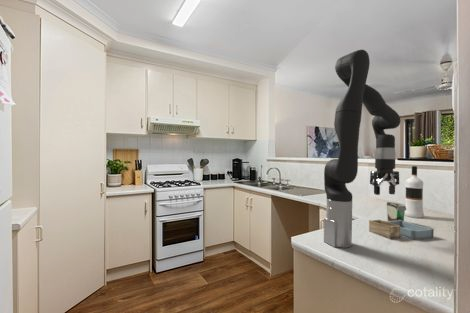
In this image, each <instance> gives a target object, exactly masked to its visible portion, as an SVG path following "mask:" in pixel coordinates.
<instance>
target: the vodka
mask: <svg viewBox="0 0 470 313" xmlns="http://www.w3.org/2000/svg"><path fill="white" fill-rule="evenodd" d="M423 190H424V181H423V180H422V179H420V178H419V177H418V166H416V165H413V166H411V176H410V177H408V178H407V179H406V180H405V198H404V199H405V204H404V205H405V207H406V210H405V214H404V216H406V217H409V218H414V219H423V218H424V216H425V213H424V205H423V204H424V200H423V199H424V198H423V197H424V195H423V194H424V191H423Z"/></svg>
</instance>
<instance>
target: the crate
mask: <svg viewBox="0 0 470 313" xmlns="http://www.w3.org/2000/svg"><path fill="white" fill-rule="evenodd" d="M385 221H386V222H389V223H392V224H396V225H399V226H401V228H400V237H404V238H407V239H411V240H413V241H414V240H415V241H416V240H417V241H418V240H424V239H433V238H434V232H435V230H434V228H432V227H427V226H426V227H425V226H421V225H419V224H415V223H411V222H408V221H405V220H404V221H403V220H398V221H388V220H385Z"/></svg>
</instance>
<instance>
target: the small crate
mask: <svg viewBox="0 0 470 313" xmlns="http://www.w3.org/2000/svg"><path fill="white" fill-rule="evenodd" d="M386 221H387V220H383V219H374V220H368V222H369V223H368V232H371V233H372V234H374V235H378V236H380V237H383V238H386V239H388V240H391V239H401V235H400V228H401V226H399V225H396V224H392V223H389V222H386Z"/></svg>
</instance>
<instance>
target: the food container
mask: <svg viewBox="0 0 470 313" xmlns="http://www.w3.org/2000/svg"><path fill="white" fill-rule="evenodd" d="M405 210H406V207H405V204H403V203H398V202H392V201H391V202H390V201H387V202H386V212H387V214H386V215H387V221H398V220H403V221H404V222H405Z"/></svg>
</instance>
